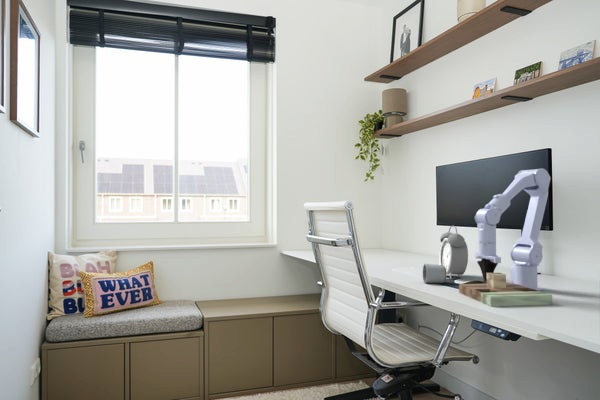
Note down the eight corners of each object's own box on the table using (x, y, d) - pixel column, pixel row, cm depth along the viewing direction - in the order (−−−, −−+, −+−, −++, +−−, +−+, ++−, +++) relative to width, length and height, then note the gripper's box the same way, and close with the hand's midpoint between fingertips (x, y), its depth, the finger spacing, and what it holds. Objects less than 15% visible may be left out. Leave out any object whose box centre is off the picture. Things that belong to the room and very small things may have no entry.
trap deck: (459, 292, 163) (459, 284, 164) (512, 291, 165) (512, 282, 165) (490, 306, 142) (490, 296, 142) (552, 304, 144) (552, 294, 144)
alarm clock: (437, 274, 207) (437, 224, 207) (456, 273, 207) (456, 224, 207) (449, 280, 190) (448, 226, 191) (470, 279, 190) (470, 226, 191)
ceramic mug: (447, 284, 180) (447, 264, 180) (426, 284, 180) (426, 264, 180) (440, 280, 190) (440, 261, 191) (420, 280, 191) (420, 261, 191)
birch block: (486, 285, 160) (486, 272, 160) (499, 285, 160) (499, 272, 160) (493, 288, 155) (493, 274, 155) (506, 288, 156) (506, 274, 156)
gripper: (467, 241, 170) (467, 278, 170) (486, 244, 156) (487, 284, 156) (485, 240, 171) (485, 277, 171) (506, 244, 157) (507, 284, 156)
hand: (487, 281), depth 163 cm, fingers closed
